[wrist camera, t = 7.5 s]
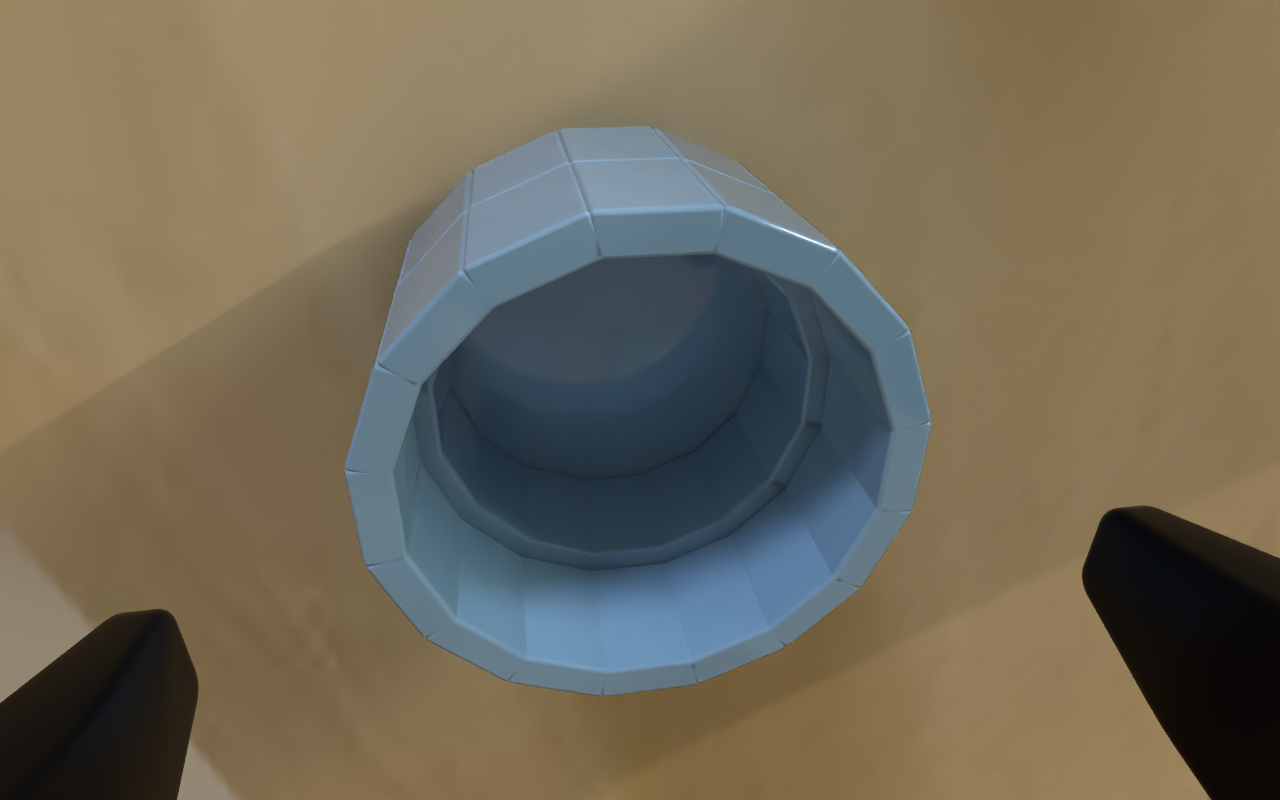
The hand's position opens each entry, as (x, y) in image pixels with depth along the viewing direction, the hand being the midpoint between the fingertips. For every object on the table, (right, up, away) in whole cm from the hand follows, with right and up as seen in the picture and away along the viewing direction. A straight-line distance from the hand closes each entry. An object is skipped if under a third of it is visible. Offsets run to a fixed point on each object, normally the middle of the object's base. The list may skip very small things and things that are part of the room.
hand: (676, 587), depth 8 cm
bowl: (-1, +3, +5) cm, 6 cm away
